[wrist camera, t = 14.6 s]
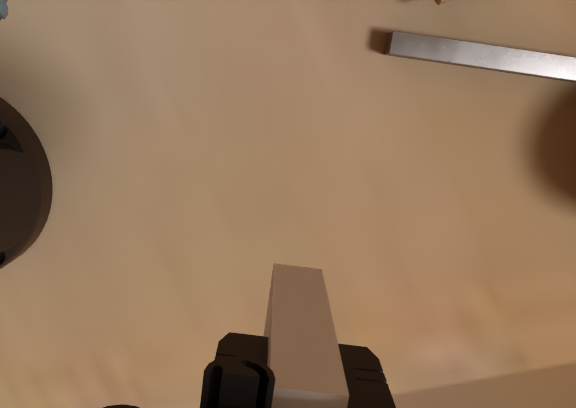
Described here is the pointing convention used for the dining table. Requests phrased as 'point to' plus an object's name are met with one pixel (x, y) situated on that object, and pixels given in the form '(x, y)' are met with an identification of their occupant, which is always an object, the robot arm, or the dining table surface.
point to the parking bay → (480, 56)
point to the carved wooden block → (440, 1)
